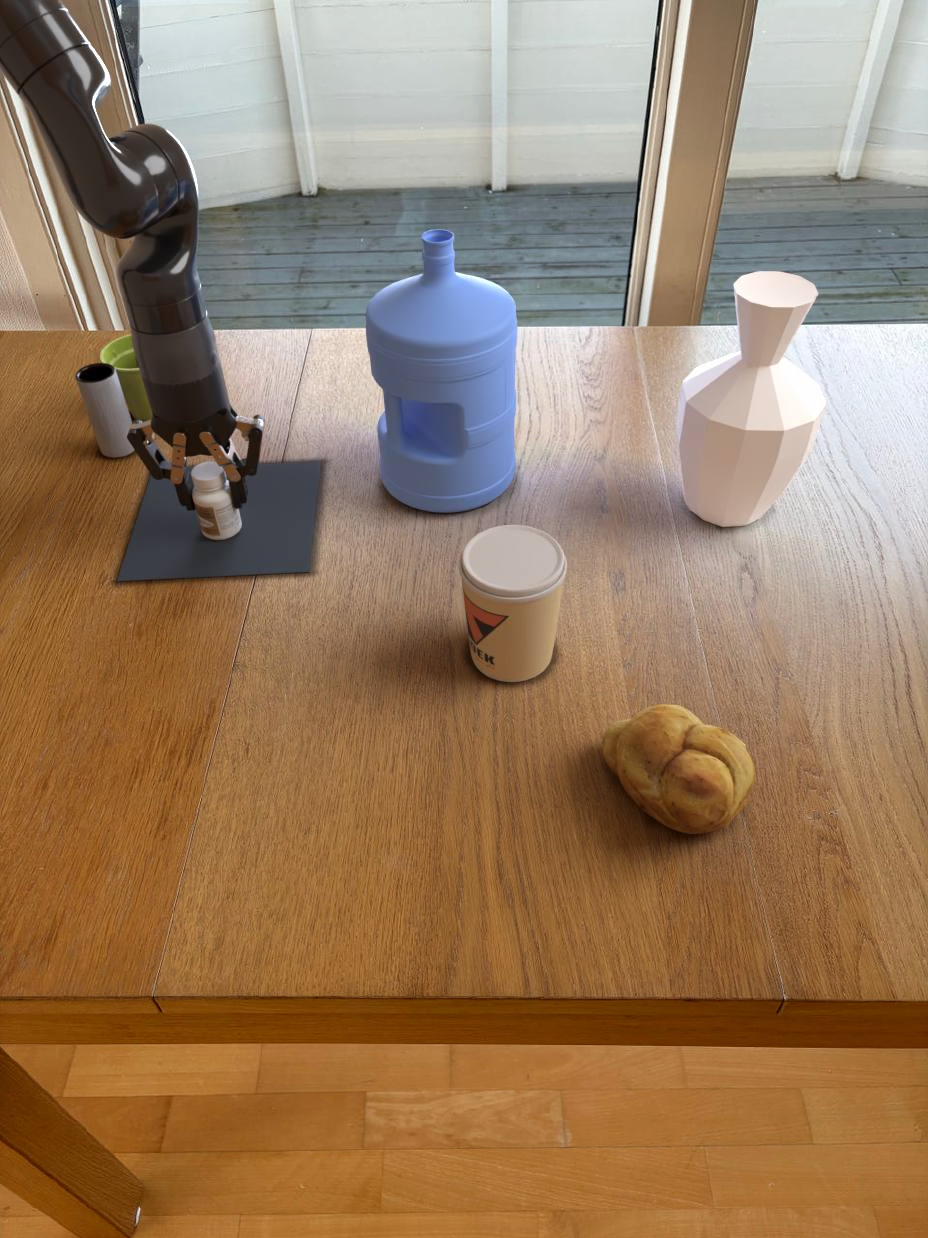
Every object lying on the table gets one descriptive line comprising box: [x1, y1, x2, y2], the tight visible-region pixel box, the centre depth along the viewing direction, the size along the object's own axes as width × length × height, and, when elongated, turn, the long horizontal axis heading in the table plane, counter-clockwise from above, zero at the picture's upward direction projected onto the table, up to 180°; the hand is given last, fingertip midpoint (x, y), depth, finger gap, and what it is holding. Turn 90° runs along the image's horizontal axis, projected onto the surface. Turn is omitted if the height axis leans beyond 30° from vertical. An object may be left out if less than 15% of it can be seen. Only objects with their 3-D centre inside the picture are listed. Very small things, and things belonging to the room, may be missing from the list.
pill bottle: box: [191, 461, 242, 540], centre depth 101 cm, size 4×4×8 cm
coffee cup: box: [458, 524, 568, 683], centre depth 86 cm, size 9×9×12 cm
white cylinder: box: [74, 362, 136, 459], centre depth 113 cm, size 4×4×10 cm
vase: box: [675, 270, 828, 528], centre depth 97 cm, size 14×14×25 cm
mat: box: [116, 460, 322, 583], centre depth 106 cm, size 20×20×1 cm
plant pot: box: [98, 333, 152, 422], centre depth 119 cm, size 9×9×9 cm
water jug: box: [365, 228, 518, 514], centre depth 101 cm, size 16×16×28 cm
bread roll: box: [601, 703, 756, 835], centre depth 76 cm, size 13×10×8 cm
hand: (215, 504), depth 102 cm, fingers closed on pill bottle, 4 cm apart
